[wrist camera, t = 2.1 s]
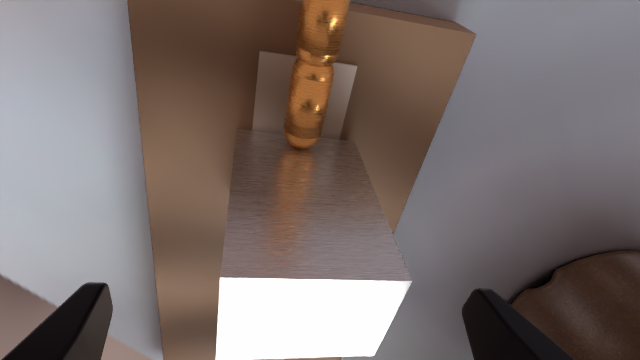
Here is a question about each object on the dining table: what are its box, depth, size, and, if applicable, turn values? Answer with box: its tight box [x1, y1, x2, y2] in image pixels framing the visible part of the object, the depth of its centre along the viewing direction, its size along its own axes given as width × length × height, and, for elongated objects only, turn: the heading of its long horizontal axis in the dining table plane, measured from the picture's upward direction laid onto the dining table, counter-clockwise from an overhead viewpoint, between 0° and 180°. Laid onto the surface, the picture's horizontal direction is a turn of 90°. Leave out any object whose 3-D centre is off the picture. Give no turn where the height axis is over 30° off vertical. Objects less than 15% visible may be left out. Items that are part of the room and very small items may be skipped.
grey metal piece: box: [216, 0, 412, 360], centre depth 9 cm, size 8×4×6 cm, turn 169°
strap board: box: [127, 0, 476, 360], centre depth 17 cm, size 21×10×2 cm, turn 169°
